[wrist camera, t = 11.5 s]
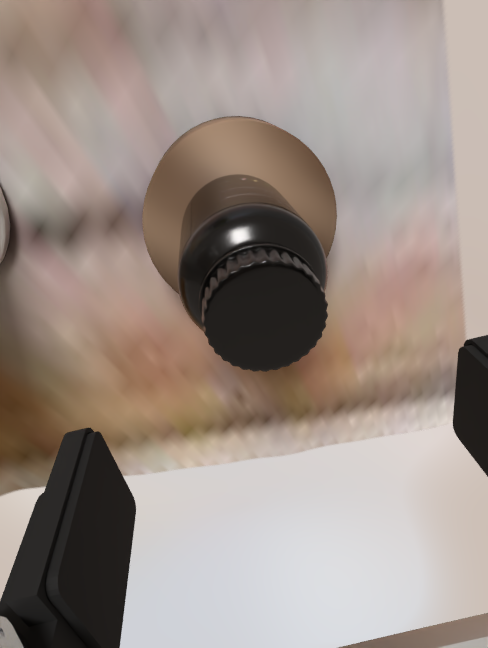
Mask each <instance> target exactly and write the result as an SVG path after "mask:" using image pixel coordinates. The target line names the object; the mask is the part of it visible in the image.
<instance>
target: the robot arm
mask: <svg viewBox="0 0 488 648" xmlns="http://www.w3.org/2000/svg"><path fill="white" fill-rule="evenodd" d="M9 237H10V220H9V214H8V207H7V204H6V201H5V198H4V196H3V193H2V190H1V188H0V264H1V262H2V260H3V259H4V257H5V254H6V251H7V247H8V244H9ZM453 428H454V431H455V433H456V435H457V437H458V438H459V440H460V441H461V442H462V444H463V445H464V446H465V447H466V449H467V450H468V451H469V453H470V454H471V455H472V457H473V458H474V459H475V461H476V462H477V463H478V464H479V466H480V467H481V468H482V469H483V471H484V472H485V473H486V475H487V476H488V335H486V336H482V337H477V338H473V339H469V340H466V341H465V343H464V347H461V348H460V349H459V352H458V364H457V377H456V389H455V402H454V415H453ZM135 514H136V505H135V500H134V497H133V495H132V493H131V491H130V489H129V487H128V485H127V484H126V482H125V480H124V478H123V476H122V474H121V472H120V470H119V468H118V466H117V464H116V462H115V460H114V458H113V456H112V454H111V452H110V450H109V448H108V446H107V444H106V442H105V441H104V439H103V437H102V435H101V433H100V432H94V431H93V430H92V429H91V428H85V429H81V430H76V431H72V432H68V433H66V434H65V436H64V437H63V440H62V443H61V446H60V449H59V452H58V455H57V457H56V460H55V463H54V466H53V469H52V472H51V474H50V477H49V480H48V483H47V486H46V489H45V492H44V493H42V494H41V495H40V496H39V498H38V500H37V502H36V504H35V507H34V510H33V512H32V515H31V518H30V521H29V524H28V526H27V529H26V532H25V535H24V537H23V540H22V543H21V545H20V548H19V551H18V554H17V556H16V559H15V562H14V565H13V568H12V570H11V573H10V576H9V578H8V581H7V584H6V587H5V590H4V592H3V595H2V598H1V601H0V648H119V647H120V639H121V630H122V622H123V614H124V606H125V597H126V589H127V581H128V573H129V563H130V556H131V548H132V540H133V531H134V523H135ZM339 648H488V613H486V614H481V615H477V616H472V617H468V618H464V619H459V620H455V621H451V622H446V623H442V624H437V625H433V626H429V627H424V628H420V629H416V630H412V631H407V632H403V633H399V634H394V635H390V636H386V637H382V638H377V639H373V640H369V641H364V642H360V643H356V644H352V645H348V646H343V647H339Z"/></svg>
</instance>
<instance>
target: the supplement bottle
mask: <svg viewBox="0 0 488 648" xmlns="http://www.w3.org/2000/svg"><path fill="white" fill-rule="evenodd" d="M326 284H327V262H326V256H325V253H324V250H323V247H322V245H321V243H320V241H319V239H318V238H317V236H316V234H315V233H314V232H313V230H312V229H311V228H310V226H309V225H308V224H307V223H306V222H305V221H304V220H303V218H302V217H301V216H300V215H299V214H298V213H297V212H296V210H295V209H294V208H293V207H292V206H291V205H290V204H289V203H288V201H287V200H286V199H285V198H284V197H283V196H282V195H281V194H280V193H279V192H278V191H277V190H276V189H275V188H274V187H273V186H271V185H270V184H269V183H267V182H265V181H264V180H261V179H259V178H257V177H254V176H250V175H243V174H234V175H227V176H223V177H219V178H217V179H214V180H213V181H211V182H209V183H207V184H206V185H204V186H203V187H202V188H201V189H200V190H199V191H198V192H197V193H196V194H195V195H194V196H193V198H192V199H191V201H190V202H189V204H188V206H187V208H186V210H185V213H184V216H183V220H182V227H181V236H180V249H179V261H178V288H179V294H180V298H181V301H182V303H183V306H184V308H185V310H186V312H187V313H188V315H189V316H190V318H191V319H192V321H193V322H194V323H195V324H196V325H197V326H198V327H199V328H200V329H201V330H202V331H204V333H205V335H206V336H207V338H208V343H209V344H210V345H211V346H212V347H213V348H214V351H215V353H216V354H218V355H220V356H221V357H222V359H223V360H224V361H228V362H230V363H231V365H233V366H239V367H240V368H241V369H243V370H247V369H250V370H252V371H259V370H261V371H265V372H266V371H269V370H277V369H279V368H281V367H286V366H289V365H290V364H291V363H293V362H296V361H299V359H300V358H301V357H302V356H305V355H307V354H308V353H309V351H310V349H312V348H313V347H315V346H316V343H317V341H318V340H319V339H320V338H321V337H322V331H323V330H324V328H325V327H326V323H325V321H326V319H327V317H328V314H327V311H326V310H327V306H328V304H327V301H326V300H325V289H326Z"/></svg>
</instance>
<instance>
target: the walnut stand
mask: <svg viewBox="0 0 488 648" xmlns="http://www.w3.org/2000/svg"><path fill="white" fill-rule="evenodd" d="M234 174H243V175H250V176H254V177H257V178H259V179H261V180H264V181H265V182H267V183H269V184H270V185H271V186H273V187H274V188H275V189H276V190H277V191H278V192H279V193H280V194H281V195H282V196H283V197H284V198H285V199H286V200H287V201H288V203H289V204H290V205H291V206H292V207H293V208H294V209H295V210H296V212H297V213H298V214H299V215H300V216H301V217H302V218H303V220H304V221H305V222H306V223H307V224H308V225H309V226H310V228H311V229H312V230H313V232H314V233H315V234H316V236H317V238H318V239H319V241H320V243H321V245H322V247H323V250H324V253H325V256H326V258H327V256H328V254H329V251H330V248H331V246H332V243H333V239H334V234H335V230H336V219H337V213H336V201H335V195H334V191H333V188H332V184H331V181H330V179H329V177H328V175H327V173H326V170H325V168H324V167H323V165H322V164H321V162H320V161H319V159H318V158H317V157H316V155H315V154H314V153H313V152H312V151H311V150H310V149H309V148H308V147H307V146H306V145H305V144H304V143H302V142H301V141H300V140H299V139H298V138H296V137H294V136H293V135H291V134H289V133H288V132H286V131H284V130H282V129H280V128H278V127H277V126H275V125H272V124H270V123H268V122H265V121H263V120H259V119H255V118H251V117H242V116H231V117H222V118H217V119H213V120H210V121H207V122H204V123H201V124H200V125H198V126H196V127H194V128H192V129H190V130H189V131H187V132H186V133H185V134H183V135H182V136H181V137H179V138H178V139H177V140H176V141H175V142H174V143H173V144H172V145H171V147H170V148H169V149H168V150H167V152H166V153H165V154H164V156H163V158H162V159H161V161H160V163H159V164H158V166H157V168H156V170H155V172H154V175H153V177H152V179H151V181H150V184H149V186H148V189H147V193H146V196H145V200H144V207H143V232H144V239H145V243H146V246H147V250H148V253H149V255H150V257H151V259H152V262H153V264H154V265H155V267H156V269H157V270H158V272H159V274H160V275H161V276H162V277H163V279H164V280H165V281H166V282H167V283H168V284H169V285H170V286H171V287H172V288H173V289H174V290H175V291H176V292H177V293H179V288H178V261H179V249H180V236H181V227H182V220H183V216H184V213H185V210H186V208H187V206H188V204H189V202H190V201H191V199H192V198H193V196H194V195H195V194H196V193H197V192H198V191H199V190H200V189H201V188H202V187H203V186H204V185H206V184H207V183H209V182H211V181H213V180H214V179H217V178H219V177H223V176H227V175H234Z"/></svg>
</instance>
